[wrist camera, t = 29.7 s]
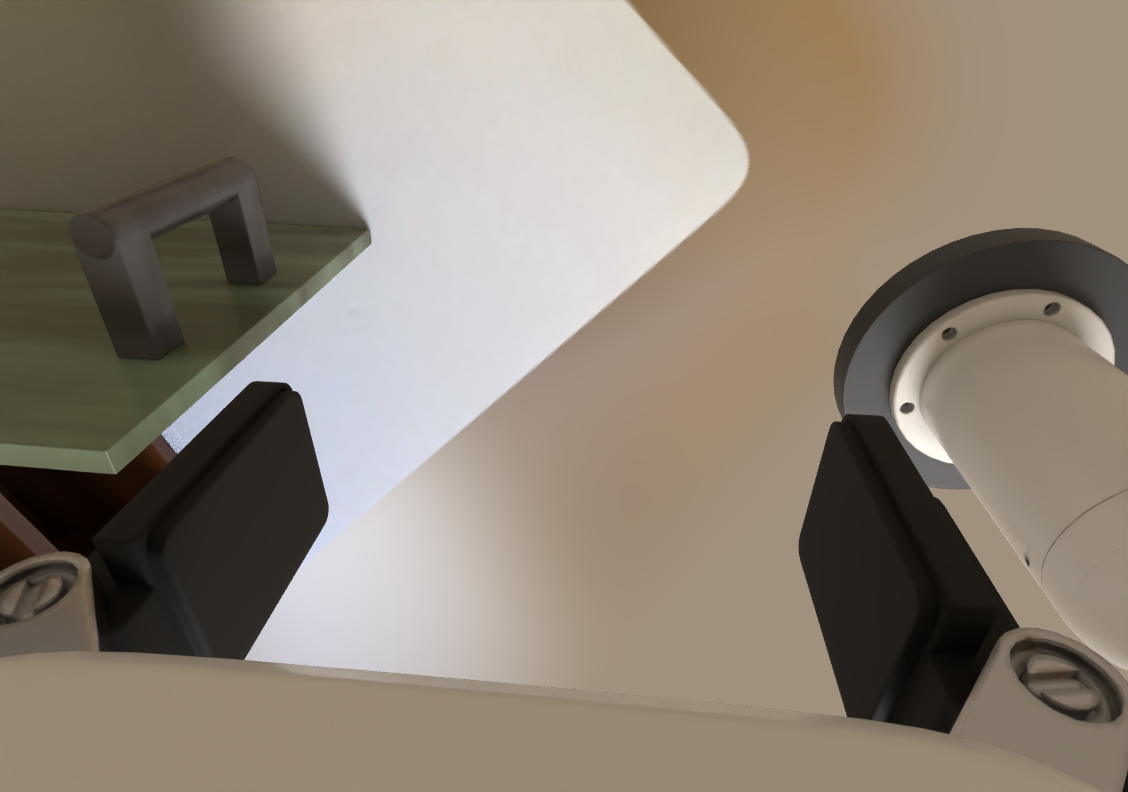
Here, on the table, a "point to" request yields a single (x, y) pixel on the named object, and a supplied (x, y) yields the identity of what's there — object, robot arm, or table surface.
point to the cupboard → (67, 504)
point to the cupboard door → (143, 310)
